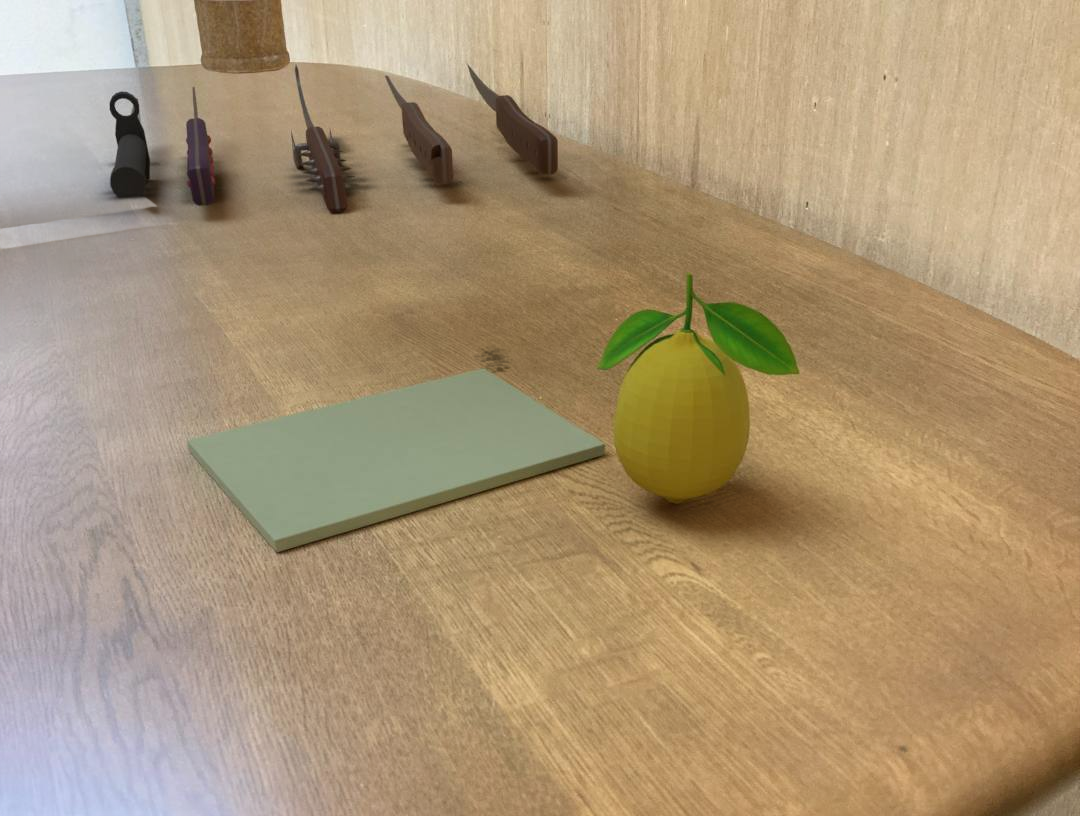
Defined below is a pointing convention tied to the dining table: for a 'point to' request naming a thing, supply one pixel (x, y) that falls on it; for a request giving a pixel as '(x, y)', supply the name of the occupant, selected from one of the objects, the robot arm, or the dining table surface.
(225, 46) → the sprinkles bottle
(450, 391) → the mat
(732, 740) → the dining table surface
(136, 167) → the knife set
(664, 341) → the lemon
